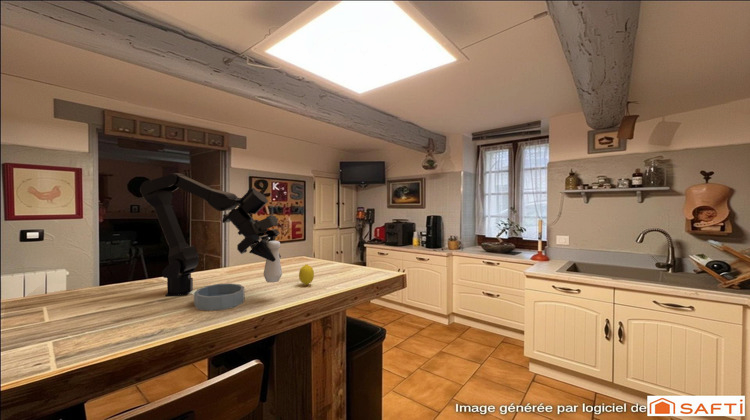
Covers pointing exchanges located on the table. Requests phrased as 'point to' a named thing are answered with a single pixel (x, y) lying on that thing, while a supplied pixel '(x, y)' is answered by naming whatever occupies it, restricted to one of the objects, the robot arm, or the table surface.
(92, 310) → the table surface
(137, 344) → the table surface
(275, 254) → the salt shaker
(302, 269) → the lemon
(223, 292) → the bowl
